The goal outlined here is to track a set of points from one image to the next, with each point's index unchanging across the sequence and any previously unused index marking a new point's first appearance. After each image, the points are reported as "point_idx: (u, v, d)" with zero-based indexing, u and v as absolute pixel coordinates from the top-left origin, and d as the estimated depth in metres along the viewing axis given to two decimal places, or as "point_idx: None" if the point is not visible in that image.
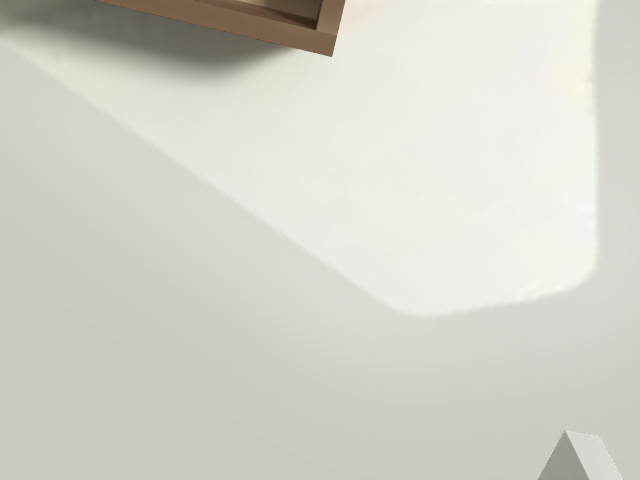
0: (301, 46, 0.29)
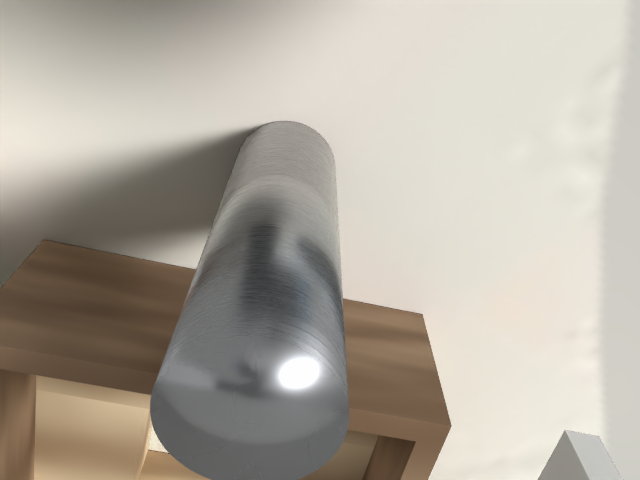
0: None
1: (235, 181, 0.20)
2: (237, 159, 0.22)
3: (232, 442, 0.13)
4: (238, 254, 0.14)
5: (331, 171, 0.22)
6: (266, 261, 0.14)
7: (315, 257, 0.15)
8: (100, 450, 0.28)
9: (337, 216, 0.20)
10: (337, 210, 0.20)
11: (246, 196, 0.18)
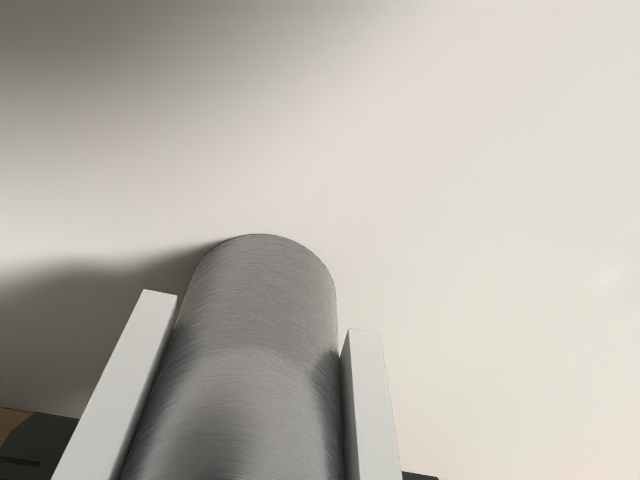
0: None
1: (167, 378, 0.11)
2: (183, 305, 0.14)
3: None
4: None
5: (330, 326, 0.14)
6: None
7: None
8: None
9: (341, 432, 0.12)
10: (341, 411, 0.12)
11: (174, 446, 0.09)
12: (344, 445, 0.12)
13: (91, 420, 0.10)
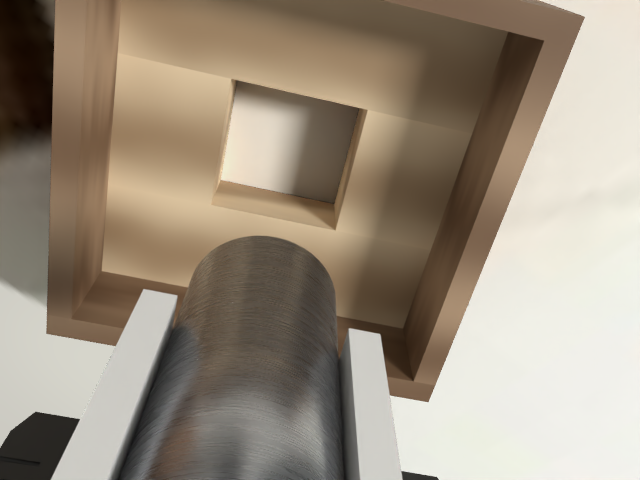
0: (396, 394, 0.28)
1: (166, 380, 0.11)
2: (182, 306, 0.14)
3: None
4: None
5: (330, 328, 0.14)
6: None
7: None
8: (181, 139, 0.26)
9: (341, 434, 0.12)
10: (340, 414, 0.12)
11: (173, 449, 0.09)
12: (344, 445, 0.12)
13: (91, 420, 0.10)
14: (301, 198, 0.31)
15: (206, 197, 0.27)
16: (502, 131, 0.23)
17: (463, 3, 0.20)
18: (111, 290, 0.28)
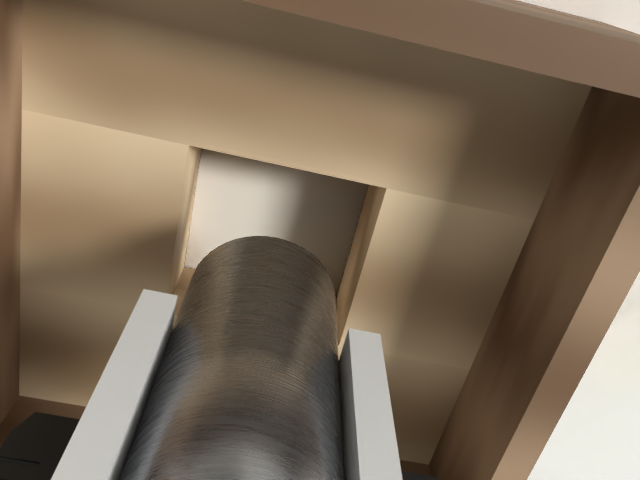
0: None
1: (166, 381, 0.11)
2: (182, 307, 0.14)
3: None
4: None
5: (330, 328, 0.14)
6: None
7: None
8: (120, 227, 0.18)
9: (340, 435, 0.12)
10: (340, 414, 0.12)
11: (173, 450, 0.09)
12: (344, 445, 0.12)
13: (91, 420, 0.10)
14: None
15: None
16: (596, 236, 0.15)
17: (552, 49, 0.12)
18: None
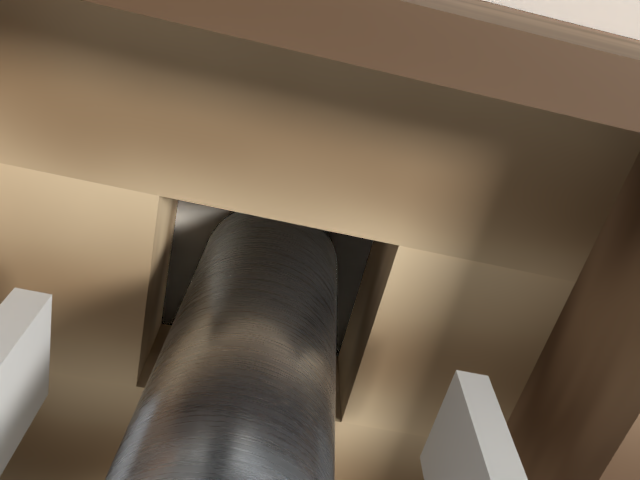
0: None
1: (183, 317, 0.13)
2: (199, 263, 0.16)
3: None
4: None
5: (329, 284, 0.16)
6: None
7: None
8: (79, 290, 0.15)
9: (334, 368, 0.13)
10: (335, 353, 0.14)
11: (189, 364, 0.11)
12: None
13: None
14: None
15: (128, 376, 0.17)
16: None
17: (628, 94, 0.09)
18: None
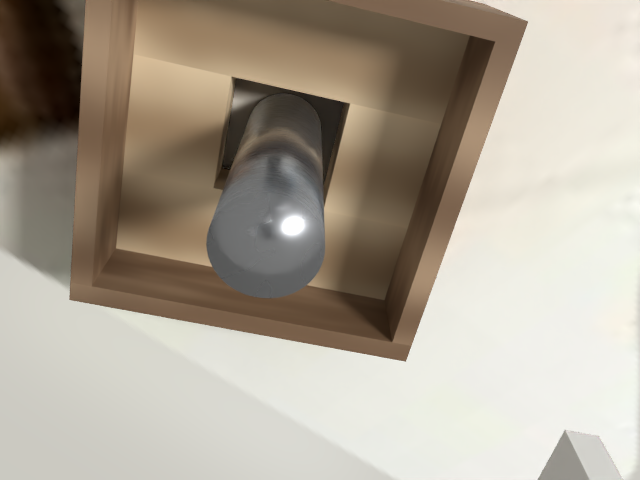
0: (377, 354, 0.31)
1: (249, 129, 0.28)
2: (249, 119, 0.31)
3: (255, 265, 0.21)
4: (256, 161, 0.23)
5: (317, 127, 0.31)
6: (274, 163, 0.22)
7: (305, 165, 0.23)
8: (188, 129, 0.30)
9: (321, 154, 0.28)
10: (321, 151, 0.29)
11: (259, 134, 0.26)
12: None
13: None
14: None
15: (209, 181, 0.31)
16: (463, 119, 0.26)
17: (426, 10, 0.24)
18: (125, 264, 0.32)
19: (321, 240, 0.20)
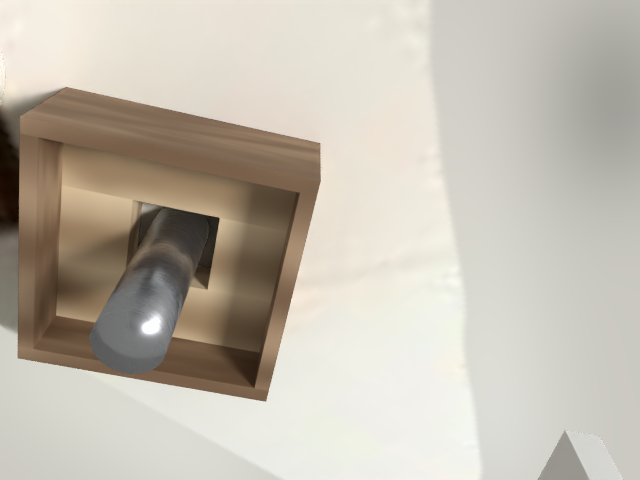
0: (244, 396, 0.43)
1: (143, 241, 0.39)
2: None
3: (122, 354, 0.32)
4: (130, 280, 0.34)
5: (199, 232, 0.42)
6: (140, 283, 0.34)
7: (165, 280, 0.35)
8: (104, 234, 0.41)
9: (194, 258, 0.40)
10: (196, 254, 0.40)
11: (143, 251, 0.37)
12: None
13: None
14: None
15: (122, 269, 0.43)
16: (288, 238, 0.38)
17: (250, 174, 0.35)
18: (61, 329, 0.43)
19: (163, 339, 0.32)
